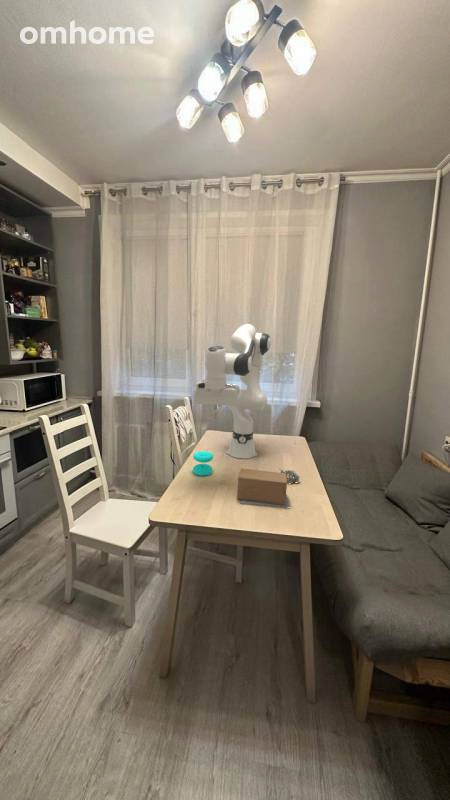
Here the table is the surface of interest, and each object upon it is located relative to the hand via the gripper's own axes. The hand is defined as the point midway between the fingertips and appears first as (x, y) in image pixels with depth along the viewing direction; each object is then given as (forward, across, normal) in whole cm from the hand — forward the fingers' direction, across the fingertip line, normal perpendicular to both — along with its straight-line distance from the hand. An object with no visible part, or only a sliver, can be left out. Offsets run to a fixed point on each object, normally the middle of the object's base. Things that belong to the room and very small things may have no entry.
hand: (216, 414), depth 139 cm
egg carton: (+36, -34, -12) cm, 51 cm away
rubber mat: (+34, -23, +10) cm, 42 cm away
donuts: (+33, +9, -8) cm, 36 cm away
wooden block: (+28, -11, +10) cm, 32 cm away
